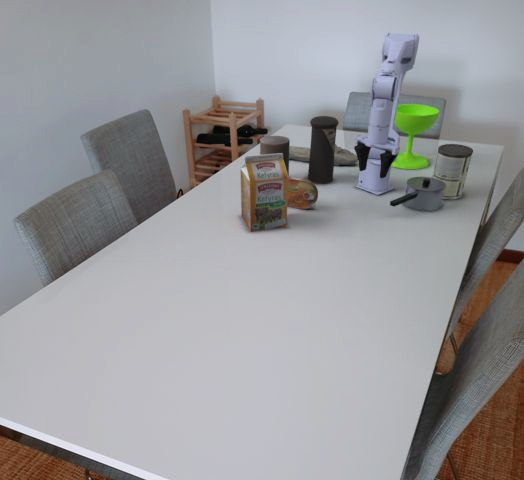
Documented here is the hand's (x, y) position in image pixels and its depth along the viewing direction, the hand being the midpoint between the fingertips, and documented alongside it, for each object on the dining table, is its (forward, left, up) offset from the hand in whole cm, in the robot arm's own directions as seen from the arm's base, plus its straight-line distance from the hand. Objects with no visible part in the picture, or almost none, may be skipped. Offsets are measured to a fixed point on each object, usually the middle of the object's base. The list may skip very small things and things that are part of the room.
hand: (372, 173), depth 149 cm
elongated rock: (-43, +19, -11) cm, 48 cm away
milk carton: (-13, -31, -11) cm, 35 cm away
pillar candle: (-35, -7, -11) cm, 37 cm away
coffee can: (+9, +28, -11) cm, 31 cm away
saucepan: (+9, +10, -10) cm, 17 cm away
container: (-26, +6, -11) cm, 29 cm away
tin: (-16, -16, -11) cm, 25 cm away
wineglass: (-18, +44, -11) cm, 49 cm away
